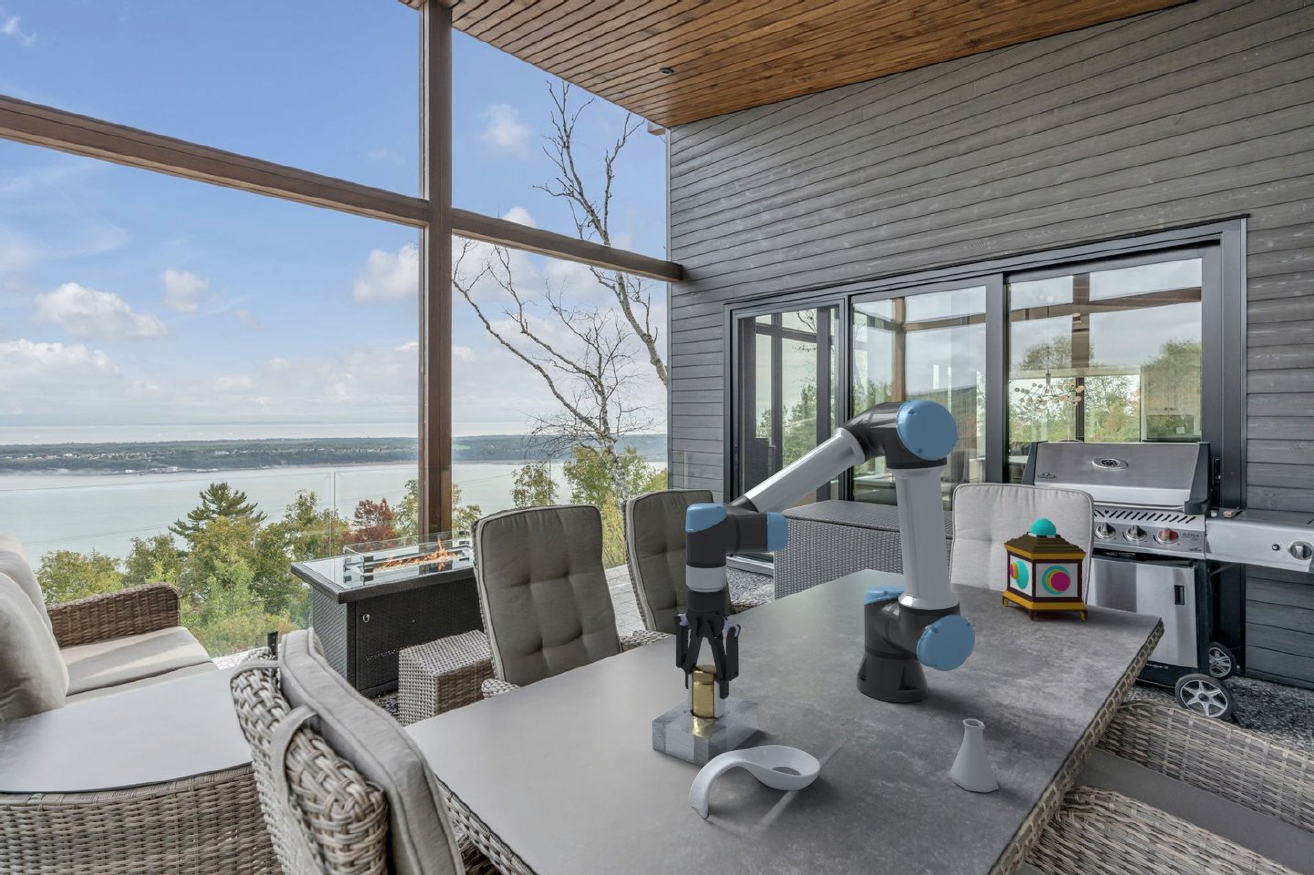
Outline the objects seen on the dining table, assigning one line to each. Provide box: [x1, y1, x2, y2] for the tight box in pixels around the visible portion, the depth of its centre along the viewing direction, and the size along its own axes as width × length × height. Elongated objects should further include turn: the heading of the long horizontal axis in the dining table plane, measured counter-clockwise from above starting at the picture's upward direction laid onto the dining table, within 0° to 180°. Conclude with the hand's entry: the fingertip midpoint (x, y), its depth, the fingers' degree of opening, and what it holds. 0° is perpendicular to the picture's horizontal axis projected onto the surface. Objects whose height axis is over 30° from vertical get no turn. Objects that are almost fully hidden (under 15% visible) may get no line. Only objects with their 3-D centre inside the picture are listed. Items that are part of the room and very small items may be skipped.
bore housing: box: [651, 695, 759, 768], centre depth 123 cm, size 12×18×6 cm, turn 143°
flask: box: [949, 718, 1000, 793], centre depth 110 cm, size 7×7×10 cm
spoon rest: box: [688, 744, 822, 819], centre depth 107 cm, size 24×12×7 cm, turn 121°
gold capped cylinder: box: [693, 664, 719, 719], centre depth 123 cm, size 5×5×13 cm
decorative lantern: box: [1001, 517, 1089, 621], centre depth 208 cm, size 20×20×30 cm
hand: (706, 710), depth 123 cm, fingers closed on gold capped cylinder, 5 cm apart
